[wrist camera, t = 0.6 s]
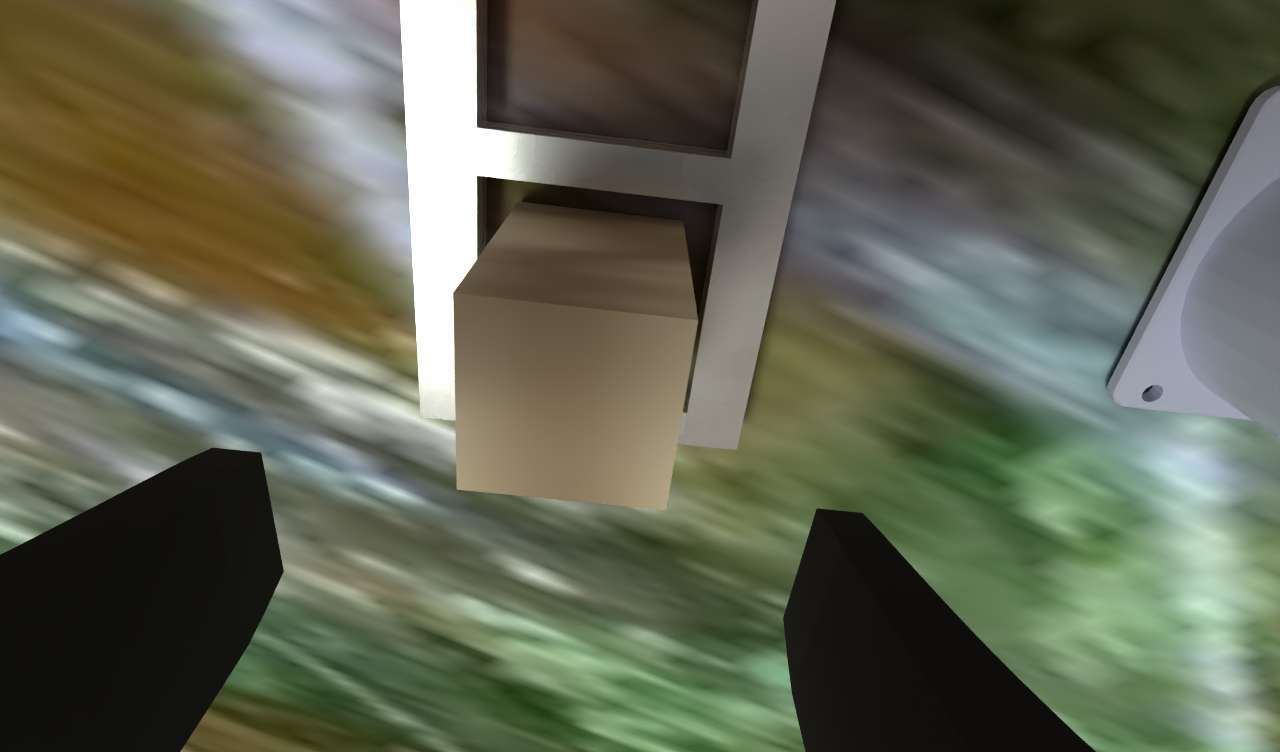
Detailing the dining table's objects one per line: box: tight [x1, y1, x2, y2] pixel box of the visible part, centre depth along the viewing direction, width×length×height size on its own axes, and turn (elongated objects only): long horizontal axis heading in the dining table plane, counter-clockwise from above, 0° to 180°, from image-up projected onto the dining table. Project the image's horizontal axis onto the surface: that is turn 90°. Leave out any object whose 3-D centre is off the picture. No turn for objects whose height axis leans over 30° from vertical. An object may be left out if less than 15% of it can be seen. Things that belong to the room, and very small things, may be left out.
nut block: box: [453, 201, 698, 510], centre depth 14 cm, size 4×4×6 cm
